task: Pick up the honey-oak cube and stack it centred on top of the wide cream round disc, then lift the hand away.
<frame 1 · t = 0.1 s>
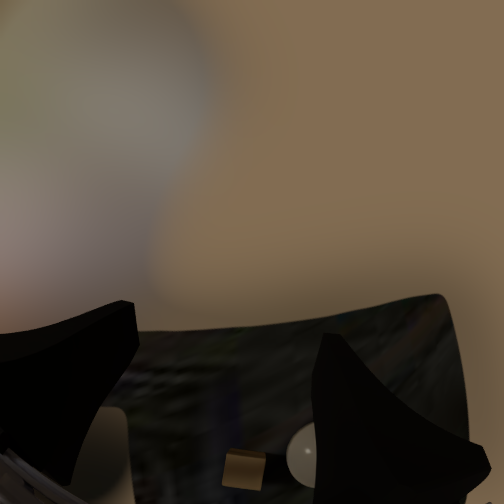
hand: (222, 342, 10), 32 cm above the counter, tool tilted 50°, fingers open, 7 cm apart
oak cube: (245, 464, 31), on the counter
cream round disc: (322, 452, 31), on the counter
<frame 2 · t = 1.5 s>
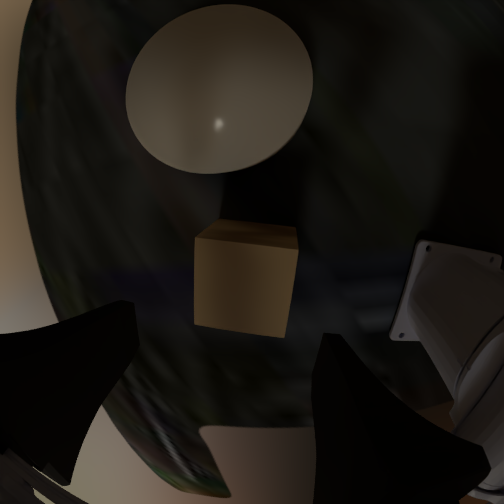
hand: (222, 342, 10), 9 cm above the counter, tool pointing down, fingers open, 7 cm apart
oak cube: (253, 258, 19), on the counter
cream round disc: (223, 91, 16), on the counter
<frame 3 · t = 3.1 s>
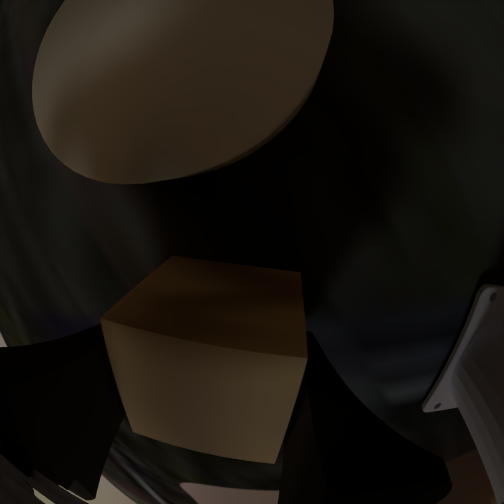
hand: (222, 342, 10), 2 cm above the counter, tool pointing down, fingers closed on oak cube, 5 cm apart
oak cube: (230, 319, 11), on the counter, touching gripper
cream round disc: (180, 47, 8), on the counter
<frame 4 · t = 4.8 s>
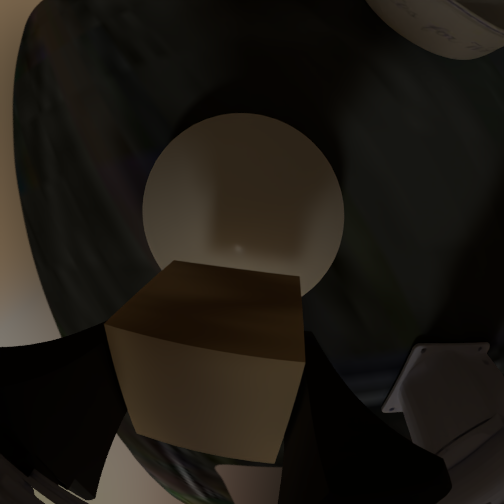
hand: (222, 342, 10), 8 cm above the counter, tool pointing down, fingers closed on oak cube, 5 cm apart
oak cube: (231, 322, 11), point 7 cm above the counter, touching gripper
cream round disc: (245, 210, 17), on the counter
teacup: (431, 19, 11), on the counter
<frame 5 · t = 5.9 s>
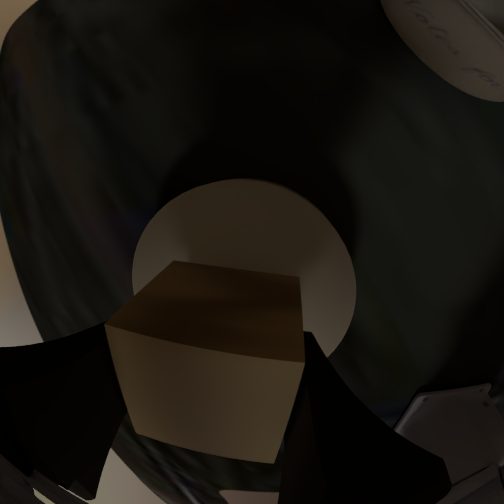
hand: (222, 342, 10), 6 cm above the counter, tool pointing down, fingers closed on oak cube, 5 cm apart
oak cube: (230, 323, 11), point 4 cm above the counter, touching gripper
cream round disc: (246, 277, 16), on the counter
teacup: (459, 42, 9), on the counter
when the fingers open (6 cm above the counter, at t = 6.4 s): oak cube drops 1 cm, point 3 cm above the counter.
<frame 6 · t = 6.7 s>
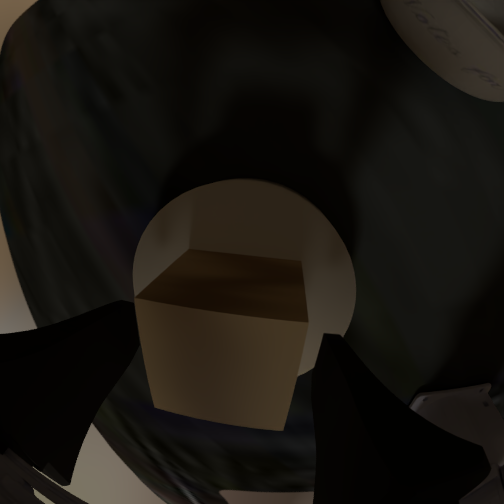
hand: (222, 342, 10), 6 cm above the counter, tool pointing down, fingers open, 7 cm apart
oak cube: (240, 305, 13), point 3 cm above the counter
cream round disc: (246, 277, 16), on the counter
teacup: (459, 42, 9), on the counter
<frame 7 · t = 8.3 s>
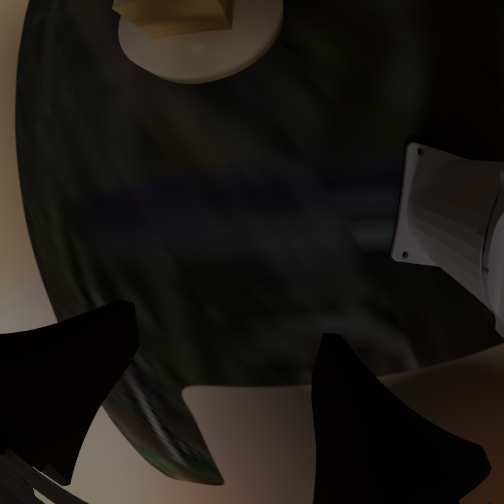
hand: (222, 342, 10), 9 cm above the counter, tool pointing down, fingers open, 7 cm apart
oak cube: (195, 4, 11), point 3 cm above the counter, touching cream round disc
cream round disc: (206, 21, 14), on the counter, touching oak cube
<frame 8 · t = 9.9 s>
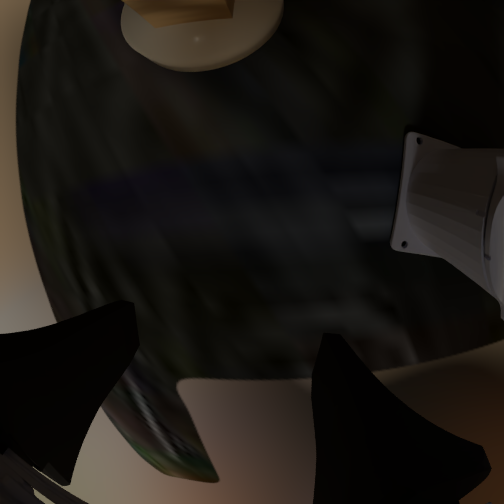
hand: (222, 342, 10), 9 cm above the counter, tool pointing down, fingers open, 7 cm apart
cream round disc: (207, 12, 14), on the counter, touching oak cube
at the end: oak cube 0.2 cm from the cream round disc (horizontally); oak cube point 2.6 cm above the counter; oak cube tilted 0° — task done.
